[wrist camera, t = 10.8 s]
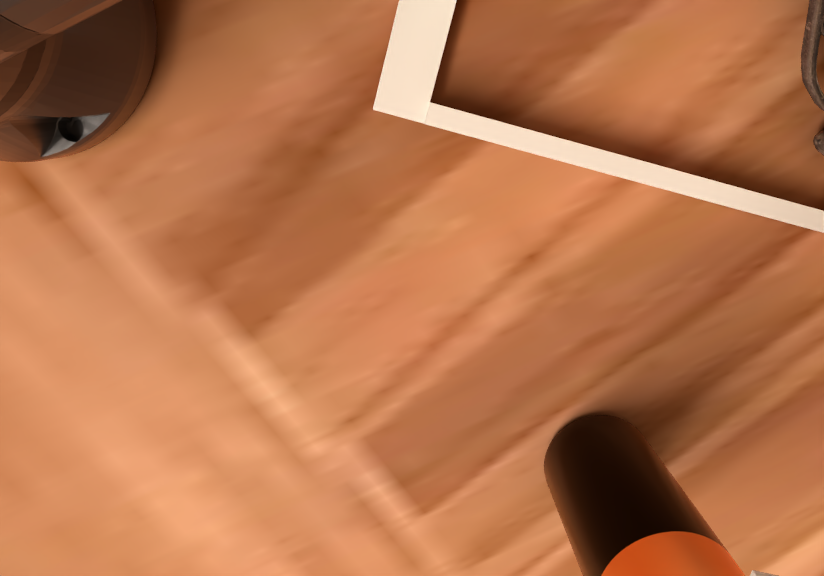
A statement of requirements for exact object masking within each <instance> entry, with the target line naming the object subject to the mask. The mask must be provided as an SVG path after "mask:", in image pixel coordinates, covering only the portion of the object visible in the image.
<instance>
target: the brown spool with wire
mask: <svg viewBox="0 0 824 576" xmlns="http://www.w3.org/2000/svg"><path fill="white" fill-rule="evenodd" d="M820 35H823V36H824V0H810V1H809V8H808V14H807V20H806V26H805V32H804V38H803V45H802V51H801V70H802V79H803V83H804V85H805V87H806V89H807V91H808V92H809V94H810V96H811V98H812V99H813V101H814V103H815V104H816V105H817V106H818V107H819V108H820V109H822V110H823V111H824V94H823V93H822V91H821V88H820V86H819V83H818V79H817V72H816V68H817V55H818V47H819V41H820ZM813 142H814V145H815V148H816V149H817V150H818V151H819V152H820V153H821V154H822V155H824V131H821V132H819V133H818V134H817V135H815V138H814V140H813Z"/></svg>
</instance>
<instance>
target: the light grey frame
mask: <svg viewBox="0 0 824 576" xmlns="http://www.w3.org/2000/svg"><path fill="white" fill-rule="evenodd" d="M456 1H457V0H399V3H398V8H397V12H396V16H395V20H394V24H393V28H392V32H391V37H390V41H389V45H388V49H387V53H386V57H385V61H384V65H383V70H382V74H381V78H380V82H379V86H378V90H377V94H376V99H375V103H374V107H373V110H376V111H380V112H384V113H387V114H391V115H395V116H398V117H402V118H406V119H409V120H413V121H417V122H420V123H424V124H426V125H430V126H434V127H437V128H441V129H445V130H448V131H452V132H456V133H459V134H463V135H467V136H470V137H474V138H478V139H481V140H485V141H489V142H492V143H496V144H500V145H503V146H507V147H511V148H514V149H518V150H522V151H525V152H529V153H533V154H536V155H540V156H544V157H547V158H551V159H555V160H558V161H562V162H566V163H569V164H573V165H577V166H580V167H584V168H588V169H591V170H595V171H599V172H602V173H606V174H610V175H613V176H617V177H621V178H624V179H628V180H632V181H635V182H639V183H643V184H646V185H650V186H654V187H657V188H661V189H665V190H668V191H672V192H676V193H679V194H683V195H687V196H690V197H694V198H698V199H701V200H705V201H709V202H712V203H716V204H720V205H723V206H727V207H731V208H734V209H738V210H742V211H745V212H749V213H753V214H756V215H760V216H764V217H767V218H771V219H775V220H778V221H782V222H786V223H789V224H793V225H797V226H800V227H804V228H808V229H811V230H815V231H819V232H822V233H824V211H823V210H819V209H815V208H812V207H808V206H804V205H801V204H797V203H794V202H790V201H786V200H783V199H779V198H775V197H772V196H768V195H765V194H761V193H757V192H754V191H750V190H746V189H743V188H739V187H736V186H732V185H728V184H725V183H721V182H717V181H714V180H710V179H707V178H703V177H699V176H696V175H692V174H688V173H685V172H681V171H678V170H674V169H670V168H667V167H663V166H659V165H656V164H652V163H649V162H645V161H641V160H638V159H634V158H630V157H627V156H623V155H619V154H616V153H612V152H609V151H605V150H601V149H598V148H594V147H590V146H587V145H583V144H580V143H576V142H572V141H569V140H565V139H561V138H558V137H554V136H551V135H547V134H543V133H540V132H536V131H532V130H529V129H525V128H522V127H518V126H514V125H511V124H507V123H503V122H500V121H496V120H493V119H489V118H485V117H482V116H478V115H474V114H471V113H467V112H464V111H460V110H456V109H453V108H449V107H445V106H442V105H438V104H434V103H431V102H430V100H431V96H432V92H433V89H434V85H435V81H436V77H437V73H438V70H439V66H440V62H441V58H442V54H443V51H444V47H445V43H446V39H447V35H448V32H449V28H450V24H451V20H452V16H453V12H454V9H455V5H456Z"/></svg>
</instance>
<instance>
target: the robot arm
mask: <svg viewBox="0 0 824 576" xmlns="http://www.w3.org/2000/svg"><path fill="white" fill-rule="evenodd" d="M156 41H157V28H156V16H155V9H154V3H153V0H0V161H10V162H33V161H41V160H47V159H54V158H60V157H65V156H69V155H73V154H76V153H79V152H82V151H84V150H86V149H89V148H91V147H93V146H95V145H97V144H98V143H100V142H101V141H103V140H105V139H106V138H107V137H109V136H110V135H111V134H113V133H114V132H115V131H116V130H117V129H118V128H119V127H121V125H122V124H123V123H124V122H125V121H126V120H127V119H128V118H129V116H130V115H131V114H132V113H133V111H134V110H135V108H136V107H137V105H138V104H139V102H140V100H141V98H142V96H143V94H144V92H145V90H146V88H147V85H148V82H149V80H150V77H151V73H152V69H153V65H154V60H155V53H156ZM750 576H778V575H773V574H768V573H763V572H759V571H754V570H752V572H751V574H750Z"/></svg>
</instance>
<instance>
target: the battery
mask: <svg viewBox="0 0 824 576" xmlns="http://www.w3.org/2000/svg"><path fill="white" fill-rule="evenodd" d="M544 473H545V478H546V481H547V484H548V486H549V489H550V492H551V494H552V497H553V499H554V502H555V505H556V507H557V510H558V512H559V515H560V518H561V520H562V523H563V525H564V528H565V531H566V533H567V536H568V538H569V541H570V544H571V546H572V549H573V551H574V554H575V556H576V559H577V562H578V564H579V567H580V569H581V572H582V575H583V576H745V575H744V573H743V572H742V570H741V569H740V568H739V566H738V565H737V564H736V562H735V561H734V559H733V558H732V557H731V555H730V554H729V553H728V551H727V550H726V548H725V547H724V546H723V544H722V543H721V542H720V540H719V539H718V538H717V536H716V535H715V533H714V532H713V531H712V529H711V528H710V527H709V525H708V524H707V522H706V521H705V520H704V518H703V517H702V516H701V514H700V513H699V511H698V510H697V509H696V507H695V506H694V505H693V503H692V502H691V500H690V499H689V498H688V496H687V495H686V494H685V492H684V491H683V490H682V488H681V487H680V485H679V484H678V483H677V481H676V480H675V479H674V477H673V476H672V474H671V473H670V472H669V470H668V469H667V468H666V466H665V465H664V463H663V462H662V461H661V459H660V458H659V457H658V455H657V454H656V453H655V451H654V450H653V448H652V447H651V446H650V444H649V443H648V442H647V440H646V439H645V438H644V436H643V435H642V434H641V432H640V431H639V430H638V429H637V428H636V427H634V426H633V425H632V424H630V423H629V422H627V421H625V420H623V419H620V418H617V417H613V416H607V415H595V416H589V417H585V418H582V419H579V420H577V421H574V422H572V423H571V424H569V425H568V426H566V427H565V428H563V429H562V430H561V431H560V432H559V433H558V434H557V435H556V436H555V438H554V439H553V440H552V442H551V444H550V445H549V447H548V450H547V452H546V456H545V461H544Z"/></svg>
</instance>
